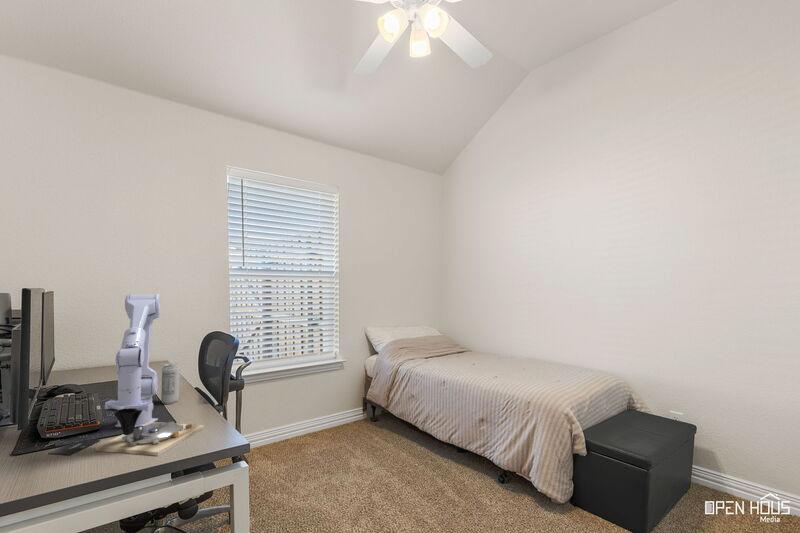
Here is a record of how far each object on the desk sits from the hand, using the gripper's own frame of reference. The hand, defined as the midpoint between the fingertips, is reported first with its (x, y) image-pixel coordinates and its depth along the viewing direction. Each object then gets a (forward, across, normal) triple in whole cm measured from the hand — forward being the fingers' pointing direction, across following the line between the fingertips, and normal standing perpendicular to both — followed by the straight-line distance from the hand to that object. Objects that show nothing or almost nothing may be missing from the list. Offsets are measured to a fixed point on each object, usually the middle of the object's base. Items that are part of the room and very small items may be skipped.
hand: (128, 433), depth 117 cm
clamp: (+3, -24, +29) cm, 37 cm away
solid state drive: (+4, -14, -4) cm, 15 cm away
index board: (+3, +4, +5) cm, 7 cm away
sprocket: (+2, +4, +5) cm, 7 cm away
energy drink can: (+3, -16, +37) cm, 40 cm away
